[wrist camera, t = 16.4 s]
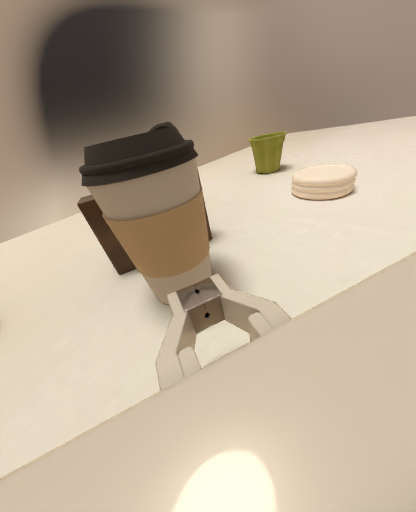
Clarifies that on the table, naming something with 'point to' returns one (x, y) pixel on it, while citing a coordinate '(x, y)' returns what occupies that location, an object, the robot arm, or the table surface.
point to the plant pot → (267, 151)
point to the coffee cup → (153, 205)
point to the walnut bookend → (111, 234)
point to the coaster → (323, 181)
